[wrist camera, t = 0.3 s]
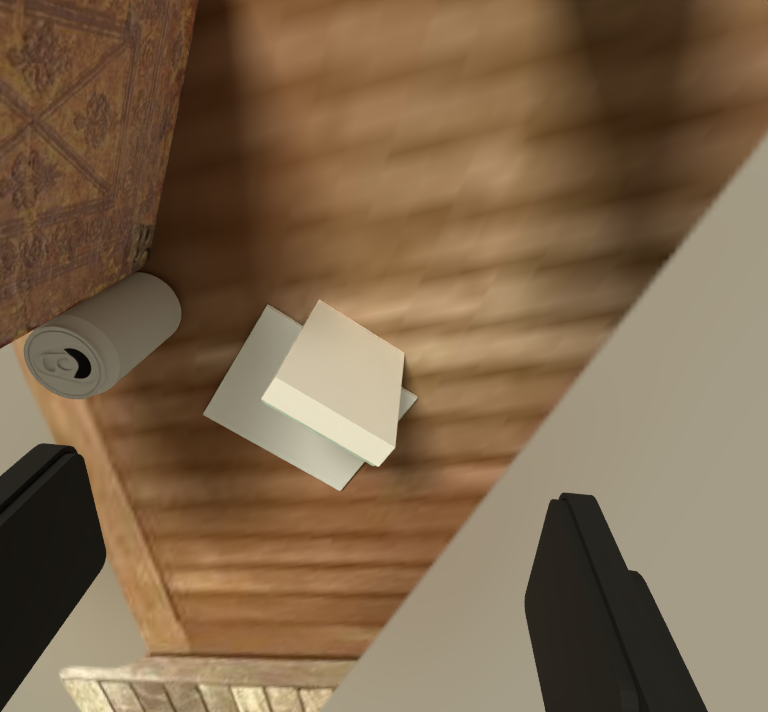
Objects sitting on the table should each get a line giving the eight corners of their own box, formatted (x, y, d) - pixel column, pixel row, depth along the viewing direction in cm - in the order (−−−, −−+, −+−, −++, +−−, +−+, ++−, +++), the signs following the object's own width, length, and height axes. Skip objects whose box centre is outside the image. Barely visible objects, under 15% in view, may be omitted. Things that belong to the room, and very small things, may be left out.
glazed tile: (319, 299, 44) (275, 376, 31) (404, 353, 46) (395, 447, 33) (306, 319, 45) (258, 402, 32) (390, 371, 46) (376, 469, 34)
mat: (268, 304, 44) (266, 305, 44) (417, 396, 47) (417, 398, 47) (204, 412, 50) (202, 414, 50) (340, 488, 53) (340, 491, 53)
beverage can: (192, 336, 46) (120, 405, 36) (126, 336, 47) (36, 404, 36) (176, 268, 44) (93, 321, 33) (106, 270, 44) (2, 322, 34)
